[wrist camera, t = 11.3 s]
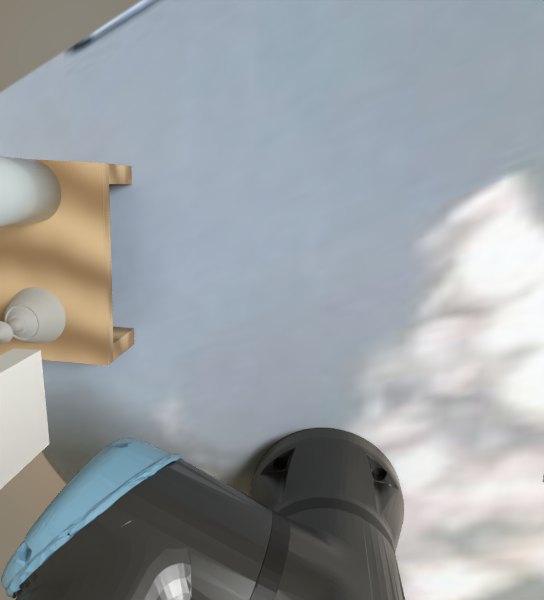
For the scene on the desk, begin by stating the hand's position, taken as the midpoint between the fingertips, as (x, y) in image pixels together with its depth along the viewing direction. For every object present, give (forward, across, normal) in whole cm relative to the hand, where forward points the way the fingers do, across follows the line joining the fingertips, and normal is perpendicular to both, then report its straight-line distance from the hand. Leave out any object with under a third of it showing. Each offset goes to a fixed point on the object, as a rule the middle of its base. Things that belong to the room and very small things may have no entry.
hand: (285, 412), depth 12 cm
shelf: (+33, +23, +1) cm, 40 cm away
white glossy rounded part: (+27, +23, -5) cm, 36 cm away
